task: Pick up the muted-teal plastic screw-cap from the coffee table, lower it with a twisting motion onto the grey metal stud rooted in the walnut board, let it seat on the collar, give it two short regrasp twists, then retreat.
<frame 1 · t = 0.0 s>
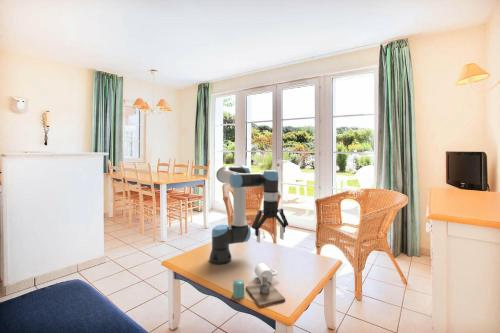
hand: (270, 240, 132), 28 cm above the table, fingers open, 13 cm apart
cap: (238, 295, 130), on the table
mug: (266, 279, 147), on the table
stud board: (264, 294, 131), on the table
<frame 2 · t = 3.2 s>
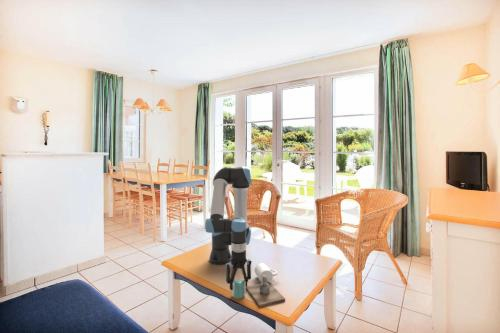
hand: (238, 294, 130), 1 cm above the table, fingers closed on cap, 5 cm apart
cap: (238, 295, 130), on the table, touching gripper
everything else where it was.
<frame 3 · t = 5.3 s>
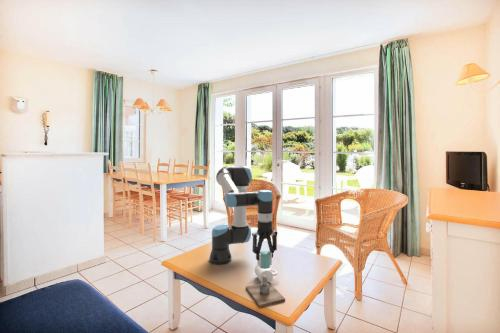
hand: (264, 264, 130), 16 cm above the table, fingers closed on cap, 5 cm apart
cap: (264, 266, 130), point 15 cm above the table, touching gripper
everything else where it was.
when the fingers open (8 cm above the table, at t = 7.4 s): cap drops 2 cm, resting on stud board.
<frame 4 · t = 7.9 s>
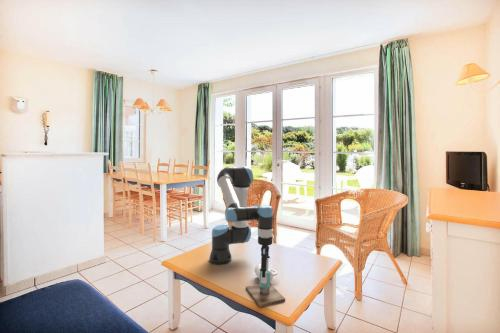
hand: (264, 276, 131), 10 cm above the table, fingers open, 13 cm apart
cap: (264, 285, 131), point 5 cm above the table, touching stud board
everything else where it was.
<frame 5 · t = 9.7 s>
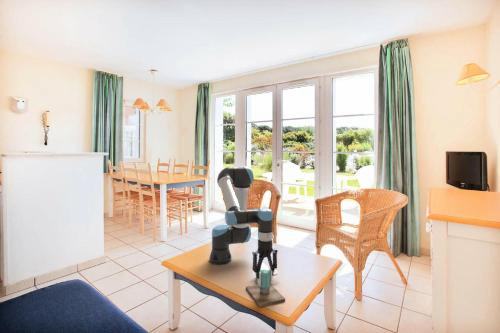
hand: (264, 283, 131), 6 cm above the table, fingers closed on cap, 6 cm apart
cap: (264, 285, 131), point 5 cm above the table, touching gripper, stud board
everything else where it was.
when the fingers open (7 cm above the table, at t = 10.5 s): cap stays where it is, resting on stud board.
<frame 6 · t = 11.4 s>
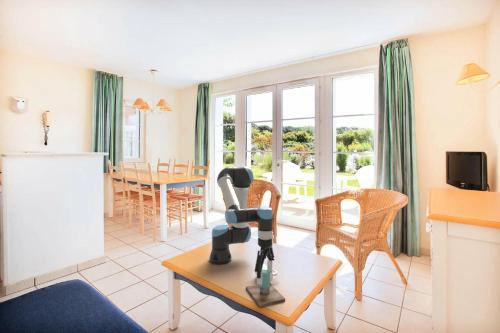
hand: (264, 278, 131), 9 cm above the table, fingers open, 13 cm apart
cap: (264, 285, 131), point 5 cm above the table, touching stud board
everything else where it was.
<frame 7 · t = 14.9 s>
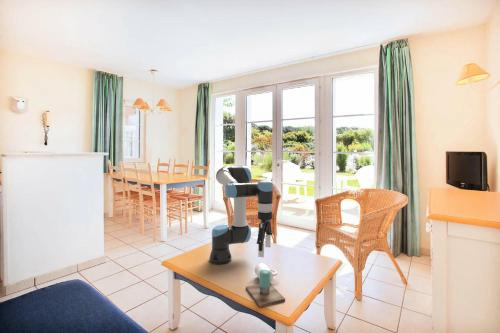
hand: (264, 251, 130), 23 cm above the table, fingers open, 13 cm apart
nothing on the table moved.
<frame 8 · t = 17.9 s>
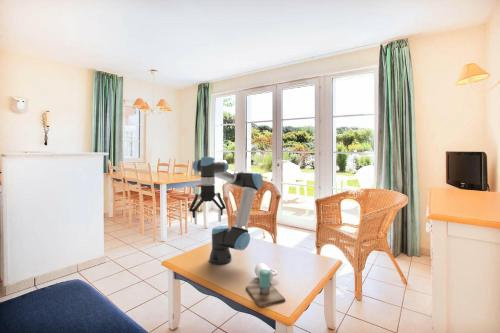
hand: (207, 222, 140), 35 cm above the table, fingers open, 13 cm apart
nothing on the table moved.
at the end: cap 0.0 cm off-centre on the stud board, point 5.0 cm above the stud board's base; cap tilted 0°; the gripper is holding nothing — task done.
